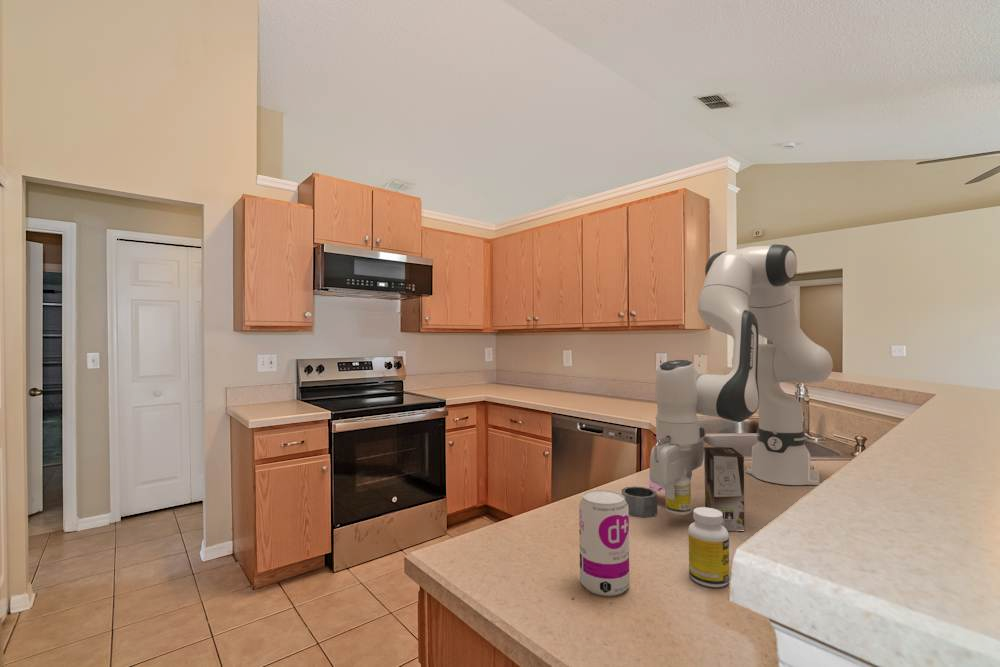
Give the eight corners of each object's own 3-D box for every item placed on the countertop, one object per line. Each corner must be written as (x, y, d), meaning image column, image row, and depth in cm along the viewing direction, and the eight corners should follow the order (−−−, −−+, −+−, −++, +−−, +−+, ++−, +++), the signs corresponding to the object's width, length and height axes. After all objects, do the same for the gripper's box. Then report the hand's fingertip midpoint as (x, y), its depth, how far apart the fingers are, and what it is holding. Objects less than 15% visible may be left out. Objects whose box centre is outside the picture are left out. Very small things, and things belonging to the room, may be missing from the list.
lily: (652, 493, 130) (635, 464, 129) (693, 483, 124) (676, 452, 123) (645, 522, 120) (627, 490, 119) (691, 512, 114) (672, 478, 113)
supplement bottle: (669, 504, 111) (668, 462, 111) (694, 509, 108) (693, 466, 108) (662, 512, 106) (661, 468, 106) (687, 517, 103) (687, 472, 103)
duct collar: (632, 502, 120) (632, 484, 120) (662, 510, 114) (662, 491, 114) (615, 511, 114) (615, 492, 114) (646, 519, 109) (646, 500, 109)
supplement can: (639, 593, 78) (638, 501, 78) (594, 601, 76) (592, 507, 76) (613, 570, 86) (612, 486, 86) (572, 577, 83) (571, 491, 84)
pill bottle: (722, 593, 78) (721, 522, 78) (682, 580, 82) (681, 512, 82) (735, 578, 82) (734, 511, 82) (697, 566, 87) (696, 502, 87)
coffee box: (746, 532, 101) (745, 456, 101) (713, 530, 103) (712, 455, 103) (734, 516, 110) (733, 446, 110) (704, 514, 112) (703, 445, 112)
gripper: (669, 443, 97) (670, 510, 97) (708, 427, 112) (709, 486, 112) (641, 439, 102) (642, 503, 102) (682, 424, 116) (683, 480, 116)
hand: (678, 494), depth 107 cm, fingers closed on supplement bottle, 5 cm apart
